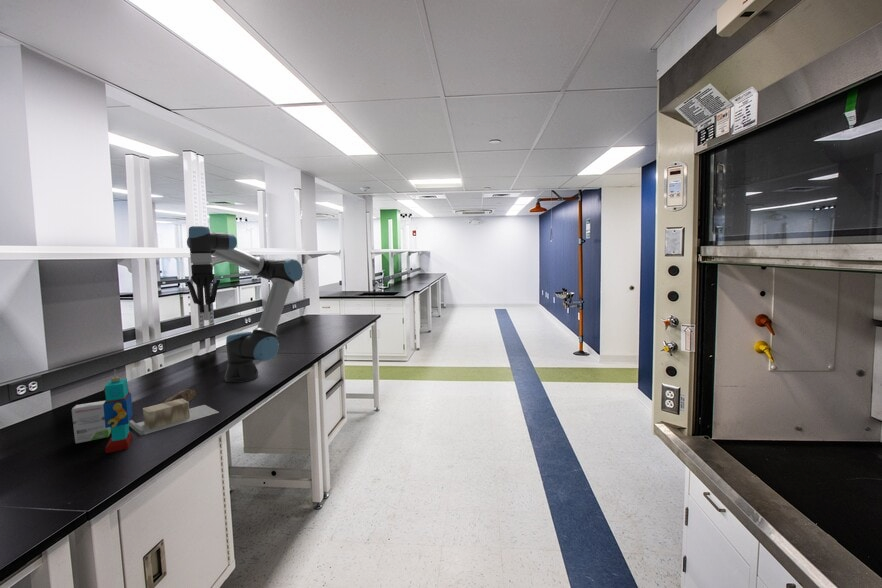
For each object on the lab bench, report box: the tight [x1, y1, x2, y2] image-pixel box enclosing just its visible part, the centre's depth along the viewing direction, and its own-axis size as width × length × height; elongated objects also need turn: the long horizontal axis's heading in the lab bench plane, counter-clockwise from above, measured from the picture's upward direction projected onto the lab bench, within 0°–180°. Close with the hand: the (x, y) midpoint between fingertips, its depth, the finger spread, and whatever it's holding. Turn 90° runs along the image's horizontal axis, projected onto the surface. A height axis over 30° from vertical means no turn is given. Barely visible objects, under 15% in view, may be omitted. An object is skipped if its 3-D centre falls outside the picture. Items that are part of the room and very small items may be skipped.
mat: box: [129, 404, 220, 436], centre depth 146 cm, size 25×14×2 cm, turn 142°
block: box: [142, 398, 190, 429], centre depth 144 cm, size 6×7×12 cm
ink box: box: [71, 400, 112, 444], centre depth 131 cm, size 9×5×12 cm, turn 121°
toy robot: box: [103, 369, 134, 454], centre depth 125 cm, size 12×6×25 cm, turn 30°
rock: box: [162, 388, 197, 403], centre depth 164 cm, size 15×10×6 cm
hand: (205, 319), depth 165 cm, fingers closed
